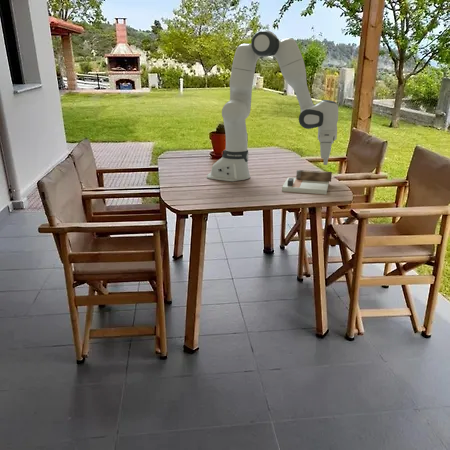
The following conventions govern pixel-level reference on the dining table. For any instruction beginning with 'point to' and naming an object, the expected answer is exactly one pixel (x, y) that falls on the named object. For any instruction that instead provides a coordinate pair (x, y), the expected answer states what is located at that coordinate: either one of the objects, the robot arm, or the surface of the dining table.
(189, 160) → the dining table surface
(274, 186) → the dining table surface
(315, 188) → the board
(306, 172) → the stool leg
